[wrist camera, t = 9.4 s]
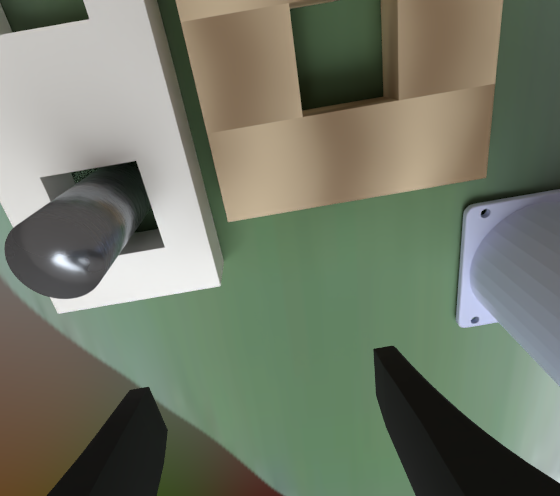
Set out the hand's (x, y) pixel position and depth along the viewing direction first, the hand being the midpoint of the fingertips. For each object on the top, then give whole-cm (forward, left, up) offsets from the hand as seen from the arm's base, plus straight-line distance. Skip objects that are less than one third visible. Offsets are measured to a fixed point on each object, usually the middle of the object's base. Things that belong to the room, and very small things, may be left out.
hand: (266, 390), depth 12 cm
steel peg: (+6, -5, -9) cm, 12 cm away
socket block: (-5, -9, -9) cm, 14 cm away
